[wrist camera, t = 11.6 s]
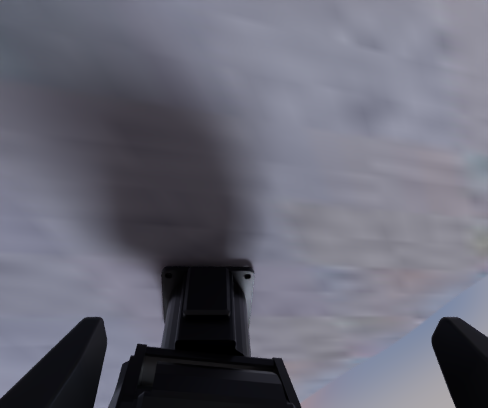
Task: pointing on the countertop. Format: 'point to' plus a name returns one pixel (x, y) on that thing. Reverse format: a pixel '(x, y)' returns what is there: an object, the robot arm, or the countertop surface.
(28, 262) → the countertop surface
